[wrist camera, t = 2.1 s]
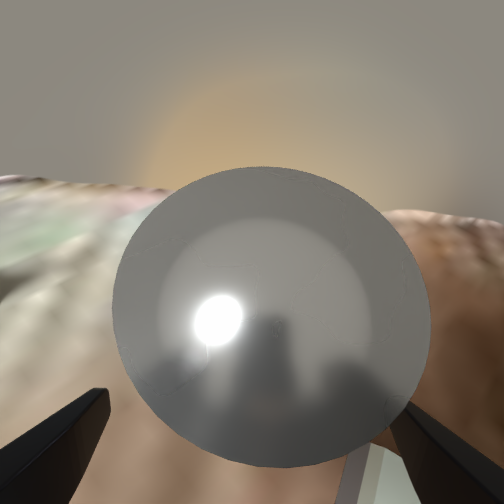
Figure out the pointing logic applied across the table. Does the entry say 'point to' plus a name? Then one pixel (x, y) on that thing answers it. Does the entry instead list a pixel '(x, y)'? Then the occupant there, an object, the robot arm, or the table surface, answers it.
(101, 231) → the table surface
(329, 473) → the table surface
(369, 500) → the square washer plate
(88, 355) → the table surface
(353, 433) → the long pin
